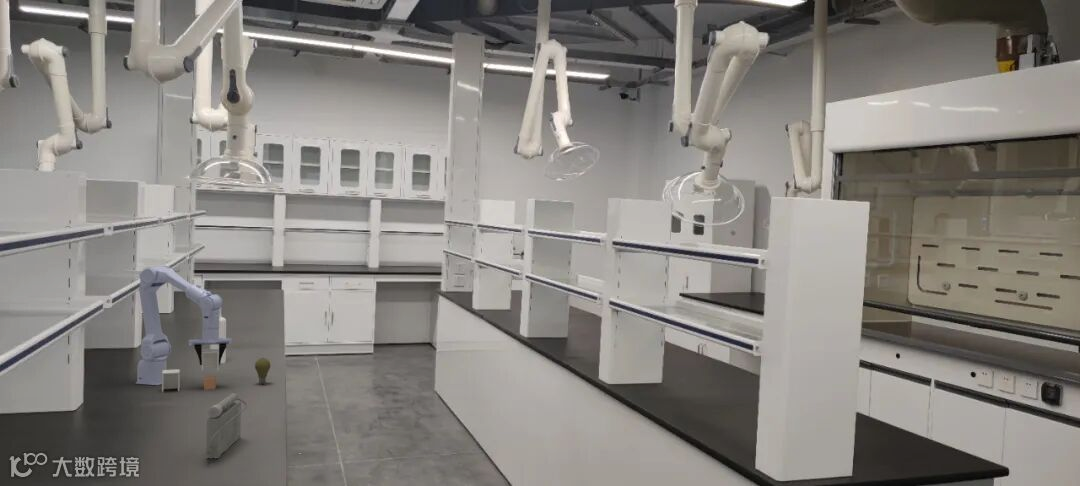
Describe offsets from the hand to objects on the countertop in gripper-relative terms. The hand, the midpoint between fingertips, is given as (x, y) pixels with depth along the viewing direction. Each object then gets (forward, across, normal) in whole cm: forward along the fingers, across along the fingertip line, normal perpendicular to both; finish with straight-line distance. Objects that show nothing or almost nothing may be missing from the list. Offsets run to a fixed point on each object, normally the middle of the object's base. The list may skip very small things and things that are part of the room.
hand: (210, 364), depth 279 cm
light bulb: (+9, +18, +1) cm, 21 cm away
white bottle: (+9, +4, +47) cm, 48 cm away
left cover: (+9, -13, 0) cm, 16 cm away
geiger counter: (+9, +2, -78) cm, 79 cm away
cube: (+9, 0, 0) cm, 9 cm away
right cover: (+2, 0, 0) cm, 2 cm away
